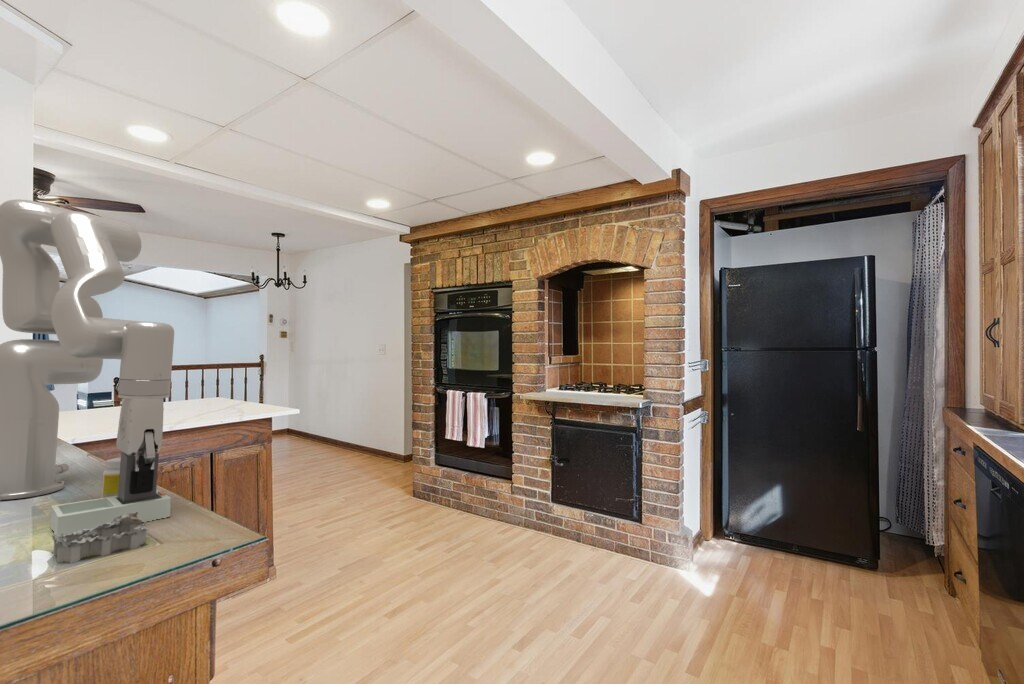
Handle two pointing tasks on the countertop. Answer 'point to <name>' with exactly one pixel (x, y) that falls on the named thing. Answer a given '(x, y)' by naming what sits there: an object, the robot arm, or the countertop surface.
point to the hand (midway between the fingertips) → (137, 488)
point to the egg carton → (101, 538)
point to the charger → (125, 479)
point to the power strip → (105, 512)
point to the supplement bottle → (111, 478)
